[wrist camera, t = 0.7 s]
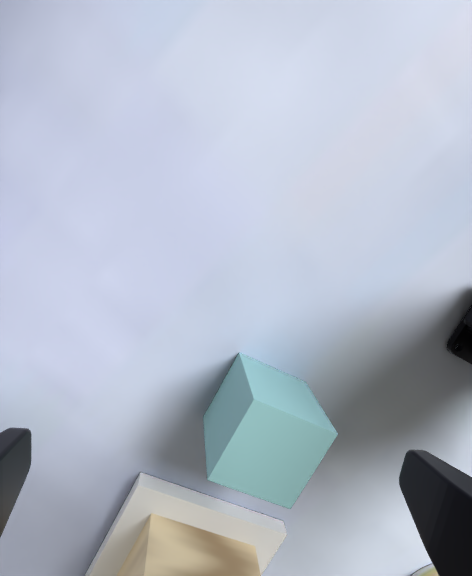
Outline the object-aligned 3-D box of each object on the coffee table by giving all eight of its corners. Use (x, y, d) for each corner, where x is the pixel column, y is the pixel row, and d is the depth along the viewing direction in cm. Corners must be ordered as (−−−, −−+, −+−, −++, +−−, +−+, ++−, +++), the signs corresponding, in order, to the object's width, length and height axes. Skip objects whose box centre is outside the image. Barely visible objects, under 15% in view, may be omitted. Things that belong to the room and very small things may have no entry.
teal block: (305, 381, 22) (338, 434, 17) (268, 442, 23) (290, 509, 18) (239, 351, 21) (253, 399, 16) (203, 416, 22) (207, 479, 17)
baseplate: (283, 521, 24) (287, 534, 23) (213, 631, 26) (214, 648, 25) (140, 472, 22) (138, 485, 21) (73, 595, 24) (69, 612, 23)
